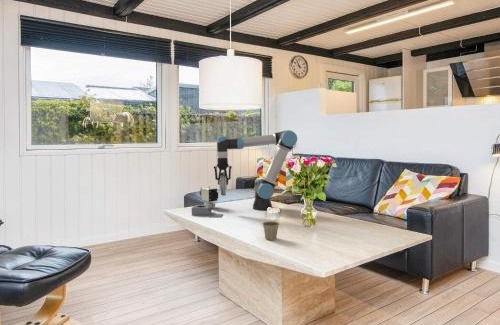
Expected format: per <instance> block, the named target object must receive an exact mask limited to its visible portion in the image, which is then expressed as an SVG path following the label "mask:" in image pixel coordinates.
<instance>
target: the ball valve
mask: <svg viewBox="0 0 500 325" xmlns="http://www.w3.org/2000/svg"><path fill="white" fill-rule="evenodd" d="M199 196H200V200H203V201H205V202H204V204H203V205H211V210H212V209H214V208H215V207H216V203H215V202H217V201H218V199H219V191H218V189H217V187H216V188H215V187H211V186H210V185H207V186H204V187H202V186H201V187H200V191H199Z"/></svg>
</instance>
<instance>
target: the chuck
mask: <svg viewBox="0 0 500 325" xmlns="http://www.w3.org/2000/svg"><path fill="white" fill-rule="evenodd" d="M211 214H212V209H211V205H204V204H195V205H194V206H192V207H191V216H200V217H201V216H203V217H204V216H207V217H209V216H210V215H211Z"/></svg>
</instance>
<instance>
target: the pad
mask: <svg viewBox="0 0 500 325" xmlns="http://www.w3.org/2000/svg"><path fill="white" fill-rule="evenodd" d="M223 216H224V213H210V214H209V215H208V218H222V217H223Z"/></svg>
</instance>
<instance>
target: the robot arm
mask: <svg viewBox="0 0 500 325" xmlns="http://www.w3.org/2000/svg"><path fill="white" fill-rule="evenodd" d="M297 142H298V136H297V133H296V132H295V131H293V130H290V129H288V130H283V131H279V132H274V133H271V134H265V135H264V134H263V135H258V136H257V135H254V136H247V137H238V138H228V136H227V135H226V136H225V135H224V136H217V138H216V151H217V152H216V153H217V154H216V155H217V156H216V157H217V160H216V161H217V164H216V165H215V166H213V169H214V177H215V178H214V179H215V180H216V181H217V185H218V186H219V190H221V175H220V174H221V173H222V172H225V179H226V180H225V189H226V190H227V189H228V185H229V180H231V178H232V176H231V175H232V168H233V166H232V165H229V163H228V162H229V161H228V154H229V153H228V150H241V149H242V150H243V149H244V148H249V147H250V148H251V147H259V146H260V147H261V146H269V145H274V146H276V151H275V153H274V156H273V158H272V160H271V161H270V164H269V166H268V169H267V170H266V173H265V176H262V177H261V179H260V178H259V179H255V180H254V202H253V204H252V209H253V210H257V211H267V210H266V209H267V208H268V207H272V208H273V204H272V201H271V198H272V197H273V195H274V193H275V188H276V185H277V182H276V180H277V178H278V176H279V173H280V172H281V169H282V168H283V165H284V162H285V160H286V159H287V156H288V154H289V152H292V149H293V148H294V146H295V145H296V144H297ZM227 170H228V171H227Z"/></svg>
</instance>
